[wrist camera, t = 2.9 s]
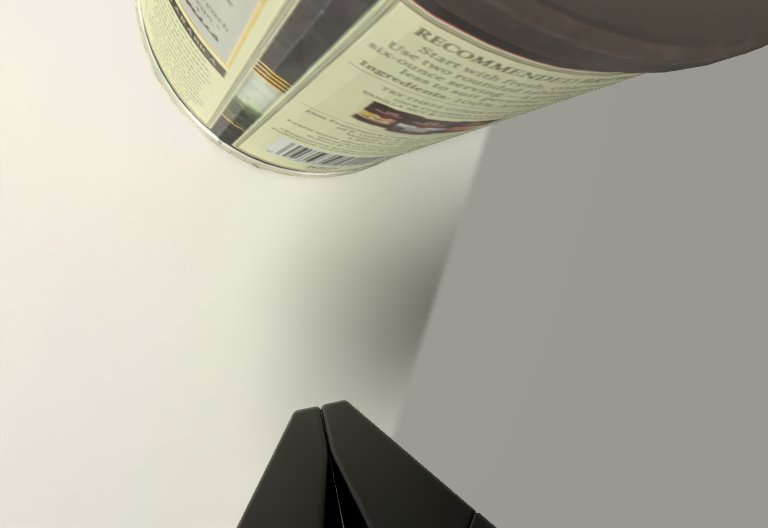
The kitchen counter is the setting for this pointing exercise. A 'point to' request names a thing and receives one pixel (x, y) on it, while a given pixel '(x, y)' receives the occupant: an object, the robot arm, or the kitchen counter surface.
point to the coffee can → (411, 66)
